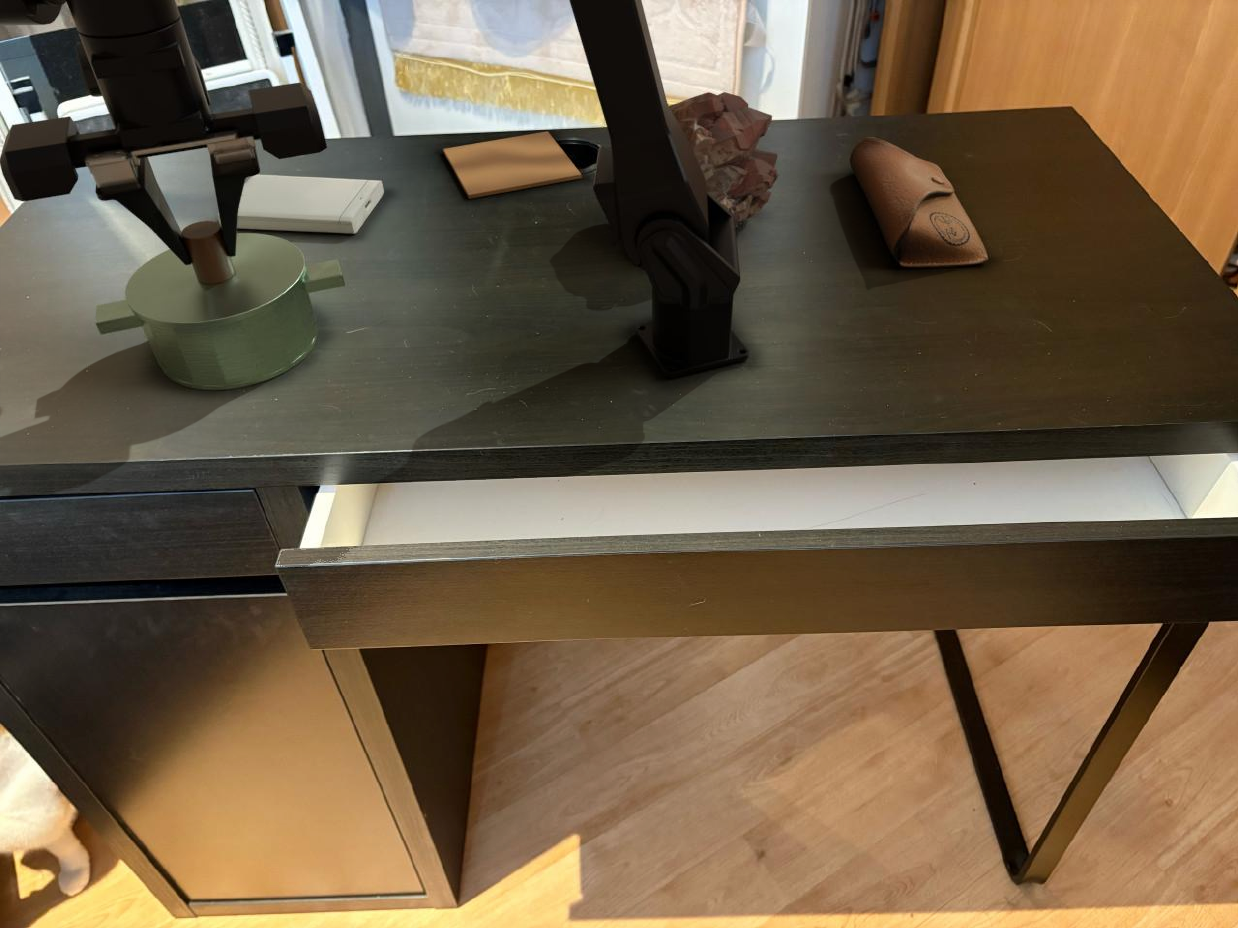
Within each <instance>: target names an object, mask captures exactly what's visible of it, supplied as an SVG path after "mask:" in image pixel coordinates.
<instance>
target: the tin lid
mask: <svg viewBox="0 0 1238 928" xmlns="http://www.w3.org/2000/svg"><path fill="white" fill-rule="evenodd" d="M181 235H182V238H183V241H184V244H185V246H186V249H187V252H188V255H189V257H190V260H191V265H185V264H184V263H183V262H182V261H181V260H180V259H179V258H178V257H177V256H176V255H175V254H174V253H173V252H172V251H171V250H170V249H169V248H168V249H167V250H164V251H163V252H161V253H158V254H156V255H155V256H153V257H152V258H150V259H149V260H148V261H146V262H144V263H143V264H141V266H139V268H137V269H136V271H134V273H133V274H131V276H130V278H129V279H128V281H127V283H126V285H125V291H124V298H125V300H126V301H127V303H128V305H129V308H130V309H131V311H132V312H133V313H134V314H135V315H136V316H138V317H139V318H140V319H142V320H144V321H146V322H149V323H151V324H154V325H158V326H163V327H170V328H183V329H190V328H205V327H213V326H219V325H224V324H229V323H233V322H237V321H240V320H243V319H247V318H249V317H252V316H255V315H257V314H260V313H262V312H264V311H266V310H268V309H270V308H272V307H274V306H275V305H277V304H279V303H280V302H282V301H283V300H285V299H286V298H287V297H289V296H290V295H291V294H292V293H293V292H294V291H295V290H296V289H297V288H298V287H299V286H300V284H301V283H302V281H303V279H304V277H305V273H306V265H307V264H306V259H305V256H304V253H303V252H302V251H301V250H300V248H299V247H298V246H296V244H294V243H292V242H290V241H289V240H287V239H284V238H282V237H278V236H275V235H270V234H264V233H257V232H255V233H253V232H240V233H239V232H237V240H236V256H233V257H230V256H229V253H228V251H227V248H226V245H225V243H224V238H223V233H222V227H221V226H220V224H219V222H217V221H213V220H201V221H197V222H193V223H191V224H188V225H187V226H185V227H184V228H183V229H182V230H181Z"/></svg>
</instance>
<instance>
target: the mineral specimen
mask: <svg viewBox="0 0 1238 928" xmlns="http://www.w3.org/2000/svg"><path fill="white" fill-rule="evenodd" d="M669 107H670V110H671V111H672V113H673V115H674V117H675V118H676V120H677V122H678V123H679V125H680V127H681V128H682V130H683V132H684V133H685V135H686V136H687V138H688V141H689V143H690V145H691V147H692V149H693V152H694V154H695V156H696V158H697V161H698V163H699V165H700V167H701V170H702V172H703V174H704V177H705V180H706V183H707V191H708V192H709V193H710V194H711V195H712V196H713V197H714V198H716V199H717V200H718V201H719V202H720V203H721V204H722V205H723V206H724V207H725V208H726V209H727V210H728V211H729V212H730V213H731V214H732V215H733V216H734V218H735V228H737V227H738V225H739V222H742V221H744V220H748V219H751V218H753V217H754V216H756V214H757V213H759V212H760V211H761V210H762V209H763V207H764V206H765V205H766V203H768V202H769V199H770V197H771V195H772V192H771V191H768V190H771V189H772V188H773V186H774V183H776V181H777V180H778V178H779V173H778V170H777V169H776V168H775V167H776V164H777V161H778V153H775V152H771V151H766V150H762V149H758V148H757V146H758V144H759V142H760V140H761V138H763V137H764V136H766V134H767V131H768V129H769V127H770V125H771V122H772V121H773V115H771V114H769V113H766V112H764V111H761V110H757V109H755V108H752V107H750V106H749V103H748V102H747V101H746V100H745V99H744V98H743V97H742V96H739V95H737V94H734V93H730V92H726V91H723V92H720V93H719V94H716V93H713V92H710V91H708V92H704V93H701V94H698V95H695V96H693V97H690V98H687V99H685V100H682V101H679V102H676V103H673V104H670V105H669Z"/></svg>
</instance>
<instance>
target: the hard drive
mask: <svg viewBox="0 0 1238 928" xmlns="http://www.w3.org/2000/svg"><path fill="white" fill-rule="evenodd" d="M384 193H385V189H384V185H383V181H382V180H378V179H377V180H376V179H356V178H355V179H354V178H338V177H337V178H335V177H319V176H318V177H317V176H291V175H274V174H257V175H255V176H251V177H250V178H248V180H246V181H245V182H244V187H243V191H242V195H241V200H240V204H239V209H238V220H237V229H245V230H246V229H247V230H265V231H266V230H268V231H290V232H310V233H311V232H312V233H331V234H332V233H333V234H334V233H335V234H350V235H351V234H353V235H355V234H357V233H358V231H359V230H360V228H361V227H362V226H363V225H364V223H365V222H366V220H367V219H368V217H369V216H370V214H371V213H372V211H374V209H375V207H376V206H377V204H379V202H380V200H381V199H382V198H383V197H384ZM216 215H217V220H218V223H219V224H220V226H221V222H220V216H219V211H218V212H217V214H216Z"/></svg>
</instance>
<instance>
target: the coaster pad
mask: <svg viewBox="0 0 1238 928" xmlns="http://www.w3.org/2000/svg"><path fill="white" fill-rule="evenodd" d="M442 152H443V155H444V156H445V158H446V161H448V164H449V165H450V167H451V169H452V171H453V172H454V174H455V176H456V178H457V179H458V181H459V183H460V186H461V187H462V188H463V191H464V192H465V194H466V196H467V198H468V199H469V200H470V199H476V198H483V197H486V196H492V195H497V194H503V193H508V192H514V191H519V190H524V189H525V190H526V189H531V188H535V187H541V186H546V185H552V184H558V183H563V182H568V181H569V182H570V181H574V180H579V179H582V178H583V176H582V173H581V172H580V171H579V169H578V168H577V167H576V166H575V164H574V163H573V162H572V160H571V159H570V158H569V157H568V155H567V154H566V153H565V151H564V150H563V149H562V147H561V146H560V145H559V144H558V142H557V141H556V140H555V139H554V137H553V136H552V134H551V133H549V131H548V130H547V131H541V132H536V133H530V134H524V135H517V136H512V137H511V136H510V137H506V138H502V139H501V138H500V139H495V140H494V139H493V140H488V141H482V142H476V143H471V144H464V145H459V146H453V147H446V148H443V149H442Z"/></svg>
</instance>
